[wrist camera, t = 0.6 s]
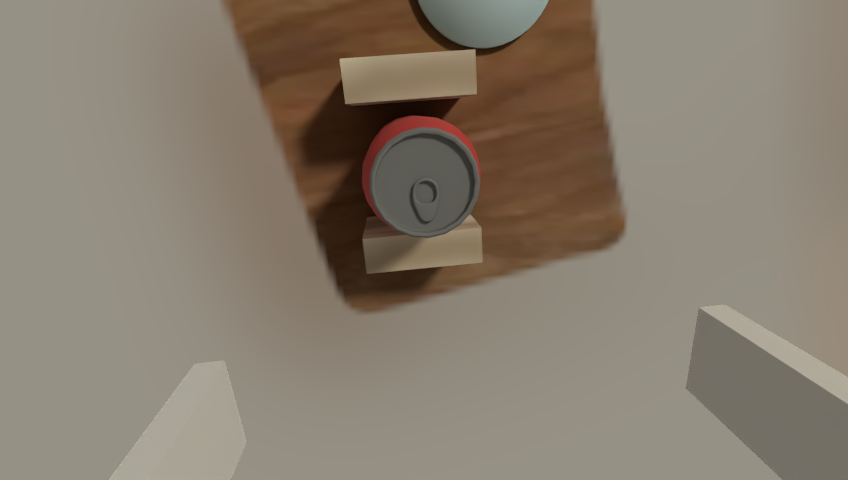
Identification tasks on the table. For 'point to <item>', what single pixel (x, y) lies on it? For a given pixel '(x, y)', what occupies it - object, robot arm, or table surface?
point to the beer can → (421, 176)
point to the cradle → (411, 83)
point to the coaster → (482, 20)
